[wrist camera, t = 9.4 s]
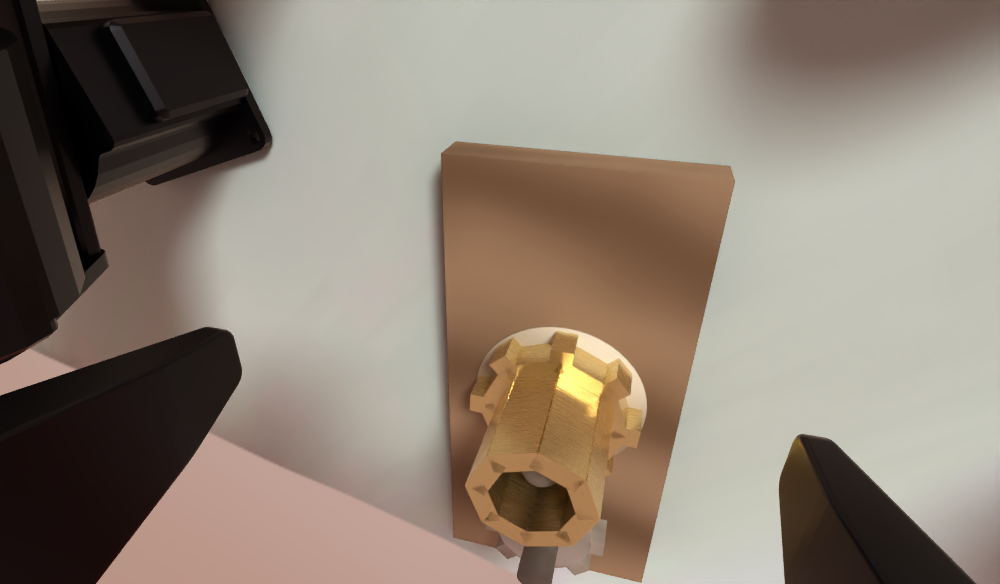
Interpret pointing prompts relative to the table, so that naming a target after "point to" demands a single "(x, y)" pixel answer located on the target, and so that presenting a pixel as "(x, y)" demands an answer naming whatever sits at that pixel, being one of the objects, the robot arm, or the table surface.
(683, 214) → the board
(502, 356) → the brass gear
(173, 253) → the table surface
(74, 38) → the robot arm
